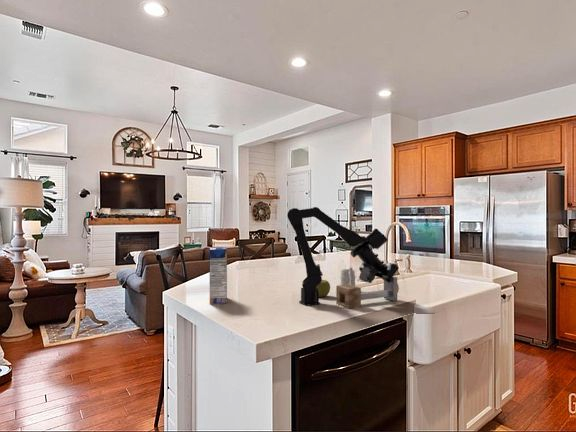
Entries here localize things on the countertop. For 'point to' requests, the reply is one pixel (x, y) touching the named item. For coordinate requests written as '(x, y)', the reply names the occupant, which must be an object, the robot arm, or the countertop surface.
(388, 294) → the hook rod
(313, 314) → the countertop surface
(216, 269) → the beverage box
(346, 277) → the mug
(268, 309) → the countertop surface
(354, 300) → the block
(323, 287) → the apple
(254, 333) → the countertop surface
